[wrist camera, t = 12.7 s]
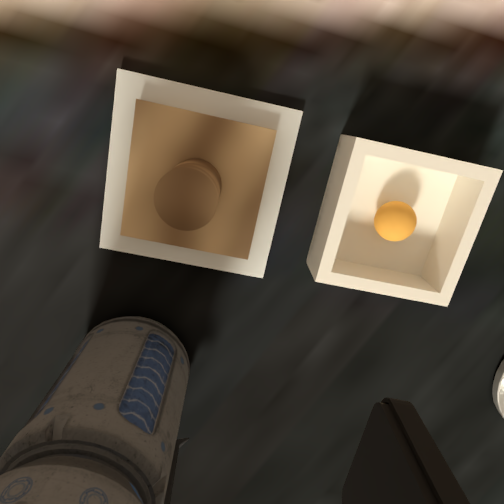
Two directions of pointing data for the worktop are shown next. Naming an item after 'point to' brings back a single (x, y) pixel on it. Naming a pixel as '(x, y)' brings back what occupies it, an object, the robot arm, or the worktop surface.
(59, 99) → the worktop surface
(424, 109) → the worktop surface
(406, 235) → the clementine
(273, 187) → the box
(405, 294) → the dish
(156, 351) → the beverage bottle
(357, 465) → the robot arm
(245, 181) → the lid
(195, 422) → the worktop surface
